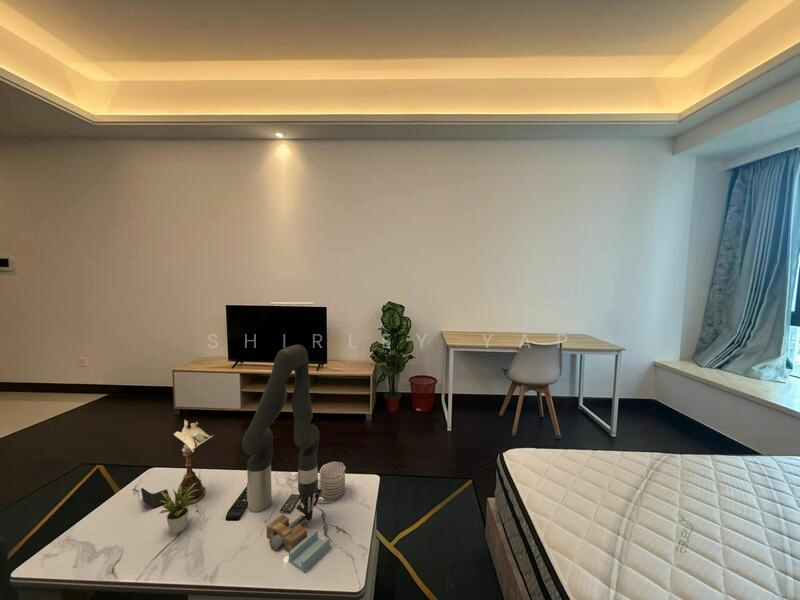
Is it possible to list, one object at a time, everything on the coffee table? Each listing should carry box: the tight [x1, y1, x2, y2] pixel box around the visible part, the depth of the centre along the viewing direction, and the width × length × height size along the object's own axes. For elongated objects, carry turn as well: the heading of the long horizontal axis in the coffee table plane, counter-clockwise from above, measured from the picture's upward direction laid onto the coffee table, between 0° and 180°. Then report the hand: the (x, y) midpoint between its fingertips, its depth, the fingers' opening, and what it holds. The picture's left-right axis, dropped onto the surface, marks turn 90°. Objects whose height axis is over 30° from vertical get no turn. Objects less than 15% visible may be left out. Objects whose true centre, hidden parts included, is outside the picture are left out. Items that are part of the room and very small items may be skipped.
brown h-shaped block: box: [265, 514, 308, 553], centre depth 121 cm, size 14×7×6 cm, turn 57°
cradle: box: [288, 529, 332, 573], centre depth 114 cm, size 8×12×4 cm, turn 147°
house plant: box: [158, 483, 197, 535], centre depth 125 cm, size 14×14×16 cm
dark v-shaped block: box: [140, 487, 170, 510], centre depth 141 cm, size 12×7×10 cm
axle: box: [268, 514, 308, 551], centre depth 122 cm, size 14×4×4 cm, turn 147°
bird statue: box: [173, 419, 215, 507], centre depth 143 cm, size 17×13×35 cm
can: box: [318, 461, 347, 503], centre depth 146 cm, size 11×11×12 cm
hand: (308, 519), depth 130 cm, fingers closed
